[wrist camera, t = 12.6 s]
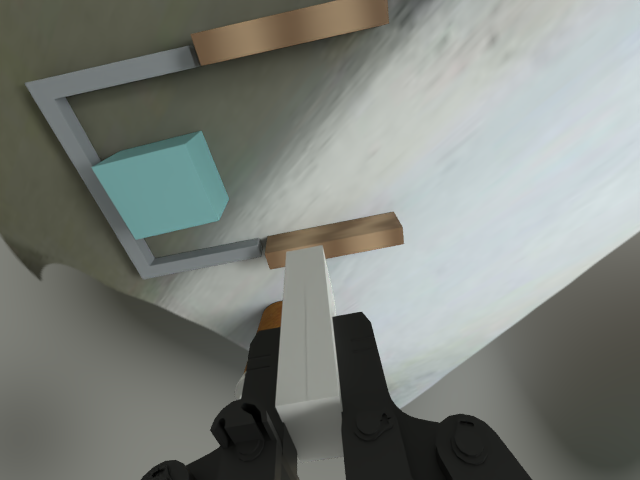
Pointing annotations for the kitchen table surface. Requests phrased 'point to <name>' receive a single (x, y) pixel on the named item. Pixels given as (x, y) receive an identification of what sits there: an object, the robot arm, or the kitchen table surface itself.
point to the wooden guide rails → (288, 30)
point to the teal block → (164, 185)
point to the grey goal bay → (84, 156)
